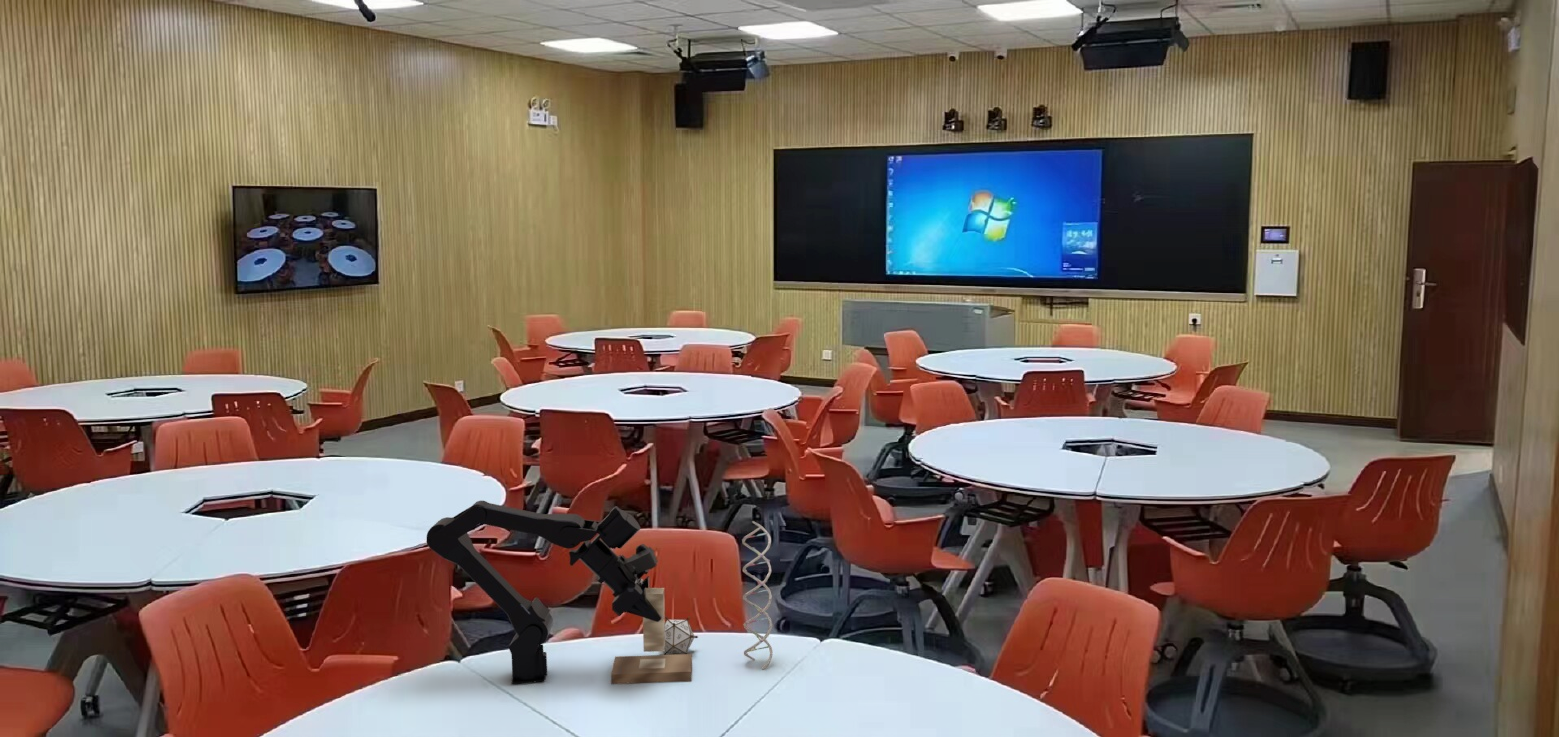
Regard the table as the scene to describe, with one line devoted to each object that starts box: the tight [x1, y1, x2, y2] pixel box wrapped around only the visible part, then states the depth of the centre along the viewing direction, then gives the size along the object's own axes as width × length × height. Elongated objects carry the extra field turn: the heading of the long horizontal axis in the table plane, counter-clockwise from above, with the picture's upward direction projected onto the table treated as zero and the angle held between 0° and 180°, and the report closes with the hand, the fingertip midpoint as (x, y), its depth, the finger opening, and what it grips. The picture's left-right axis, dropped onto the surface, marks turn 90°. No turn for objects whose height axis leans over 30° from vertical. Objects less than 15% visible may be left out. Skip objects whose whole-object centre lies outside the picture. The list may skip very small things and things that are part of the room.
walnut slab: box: [610, 653, 693, 685], centre depth 239 cm, size 16×10×2 cm, turn 93°
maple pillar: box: [642, 587, 666, 653], centre depth 237 cm, size 4×4×12 cm
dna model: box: [741, 520, 774, 670], centre depth 241 cm, size 7×6×30 cm
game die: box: [663, 615, 699, 655], centre depth 250 cm, size 9×8×10 cm
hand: (660, 616), depth 237 cm, fingers closed on maple pillar, 4 cm apart
